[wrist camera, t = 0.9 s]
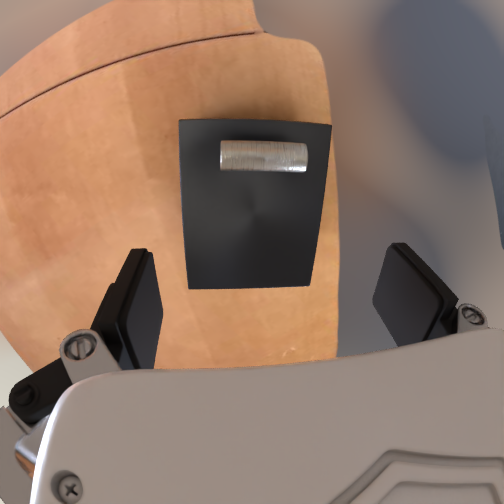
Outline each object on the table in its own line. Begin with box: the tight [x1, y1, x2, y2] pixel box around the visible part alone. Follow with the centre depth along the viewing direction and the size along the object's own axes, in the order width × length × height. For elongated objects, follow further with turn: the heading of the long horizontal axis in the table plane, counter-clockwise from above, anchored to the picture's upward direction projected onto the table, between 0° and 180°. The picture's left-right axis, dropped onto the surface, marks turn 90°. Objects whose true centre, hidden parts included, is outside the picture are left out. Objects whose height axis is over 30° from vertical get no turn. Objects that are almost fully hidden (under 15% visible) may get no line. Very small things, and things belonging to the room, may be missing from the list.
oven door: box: [179, 118, 332, 289], centre depth 20 cm, size 14×11×5 cm
